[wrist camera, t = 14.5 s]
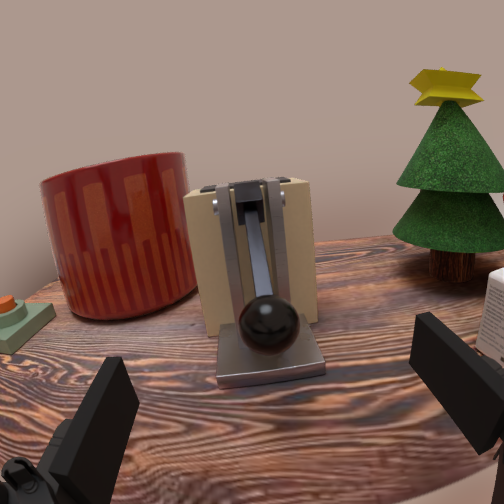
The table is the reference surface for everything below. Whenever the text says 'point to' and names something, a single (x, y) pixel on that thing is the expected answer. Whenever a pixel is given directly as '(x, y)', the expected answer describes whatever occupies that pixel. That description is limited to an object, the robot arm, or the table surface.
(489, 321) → the container
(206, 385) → the table surface
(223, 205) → the metal lever stand
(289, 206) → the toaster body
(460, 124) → the decorative tree
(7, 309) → the button
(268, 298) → the toaster lever
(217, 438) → the table surface
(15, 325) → the control block
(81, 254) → the planter
